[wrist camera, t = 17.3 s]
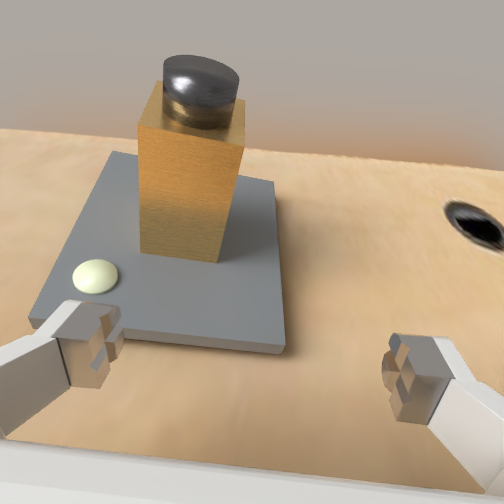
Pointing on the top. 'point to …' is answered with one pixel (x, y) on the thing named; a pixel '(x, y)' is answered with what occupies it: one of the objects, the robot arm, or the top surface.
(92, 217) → the base
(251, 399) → the top surface
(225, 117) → the block with dome knob
